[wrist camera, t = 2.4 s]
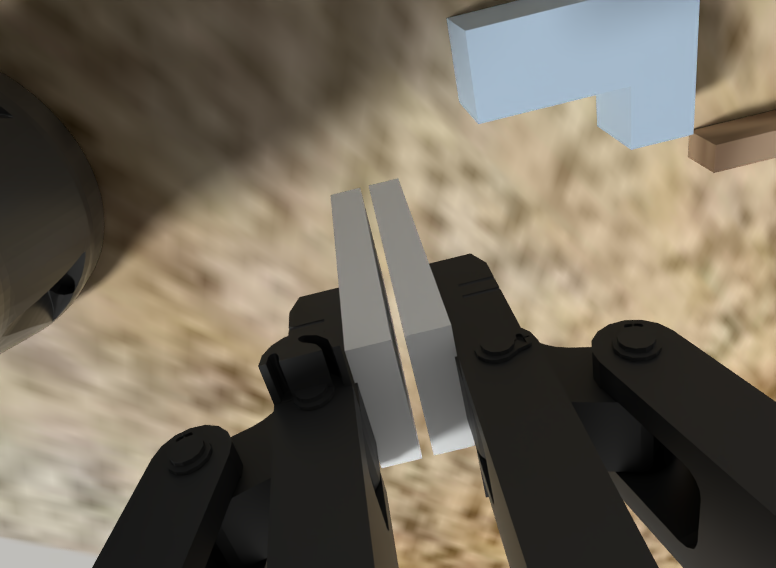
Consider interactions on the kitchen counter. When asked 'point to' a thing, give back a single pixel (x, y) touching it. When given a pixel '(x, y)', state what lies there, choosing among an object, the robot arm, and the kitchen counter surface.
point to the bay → (735, 142)
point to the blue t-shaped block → (583, 62)
